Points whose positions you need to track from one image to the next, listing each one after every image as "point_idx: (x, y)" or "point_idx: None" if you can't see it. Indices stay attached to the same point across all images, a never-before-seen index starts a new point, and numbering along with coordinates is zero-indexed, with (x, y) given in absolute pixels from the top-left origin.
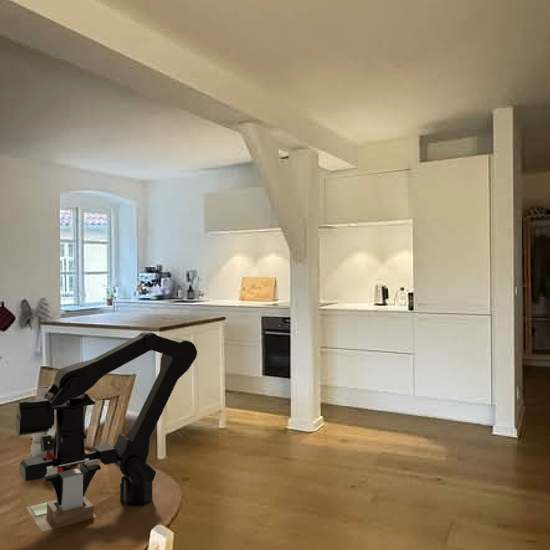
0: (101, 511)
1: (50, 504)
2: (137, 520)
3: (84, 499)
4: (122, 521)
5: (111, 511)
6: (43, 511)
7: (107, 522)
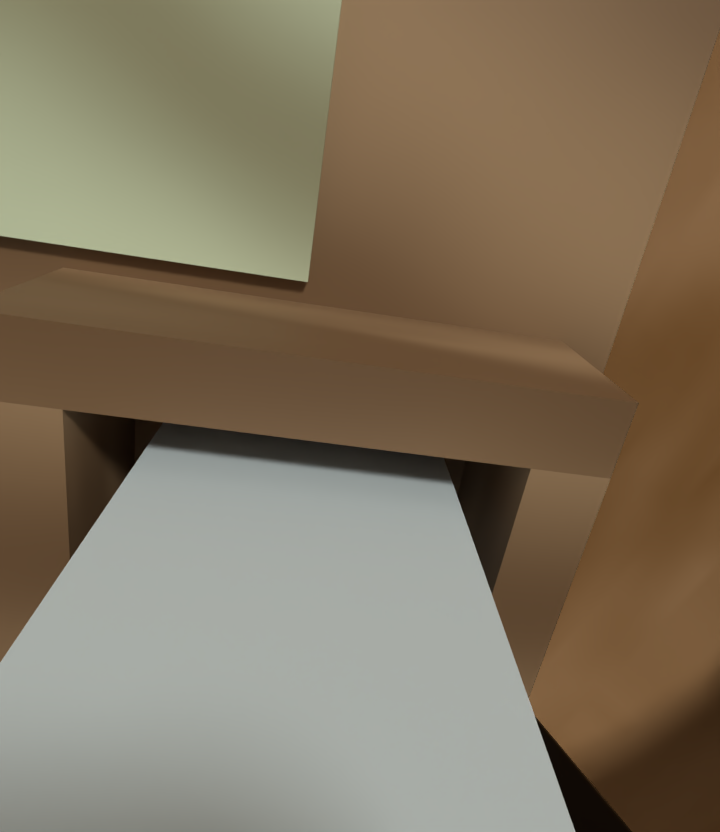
0: (653, 498)
1: (5, 426)
2: (701, 807)
3: (523, 608)
4: (621, 761)
5: (710, 562)
6: (22, 147)
7: (533, 711)
